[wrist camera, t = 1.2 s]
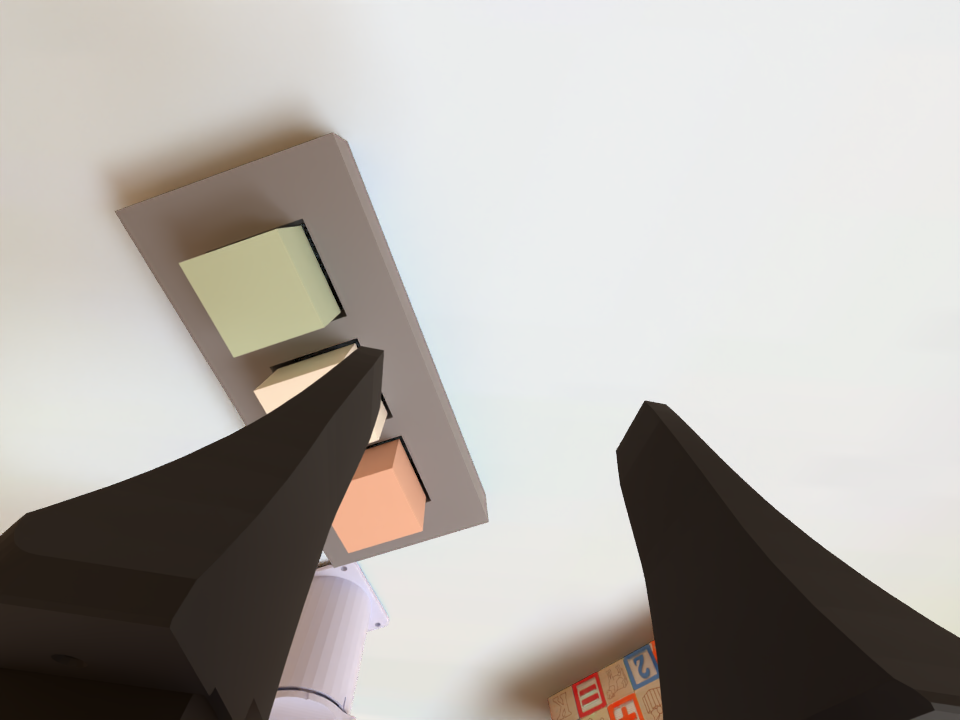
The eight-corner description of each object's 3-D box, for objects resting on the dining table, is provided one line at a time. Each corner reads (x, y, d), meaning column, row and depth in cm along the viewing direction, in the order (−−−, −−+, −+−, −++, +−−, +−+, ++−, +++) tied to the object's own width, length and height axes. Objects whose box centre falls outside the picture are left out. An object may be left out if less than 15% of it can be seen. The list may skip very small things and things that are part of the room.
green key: (261, 338, 24) (233, 357, 21) (215, 255, 22) (178, 263, 19) (340, 312, 24) (324, 327, 21) (301, 225, 22) (276, 228, 19)
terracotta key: (359, 517, 29) (348, 553, 26) (328, 461, 27) (312, 492, 24) (425, 497, 28) (422, 530, 25) (399, 438, 27) (392, 468, 24)
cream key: (315, 436, 26) (297, 465, 23) (277, 368, 24) (253, 391, 21) (387, 413, 26) (378, 440, 23) (355, 343, 24) (341, 362, 21)
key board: (344, 537, 33) (333, 568, 30) (155, 211, 24) (114, 211, 21) (485, 494, 32) (488, 522, 29) (347, 141, 23) (332, 132, 20)
